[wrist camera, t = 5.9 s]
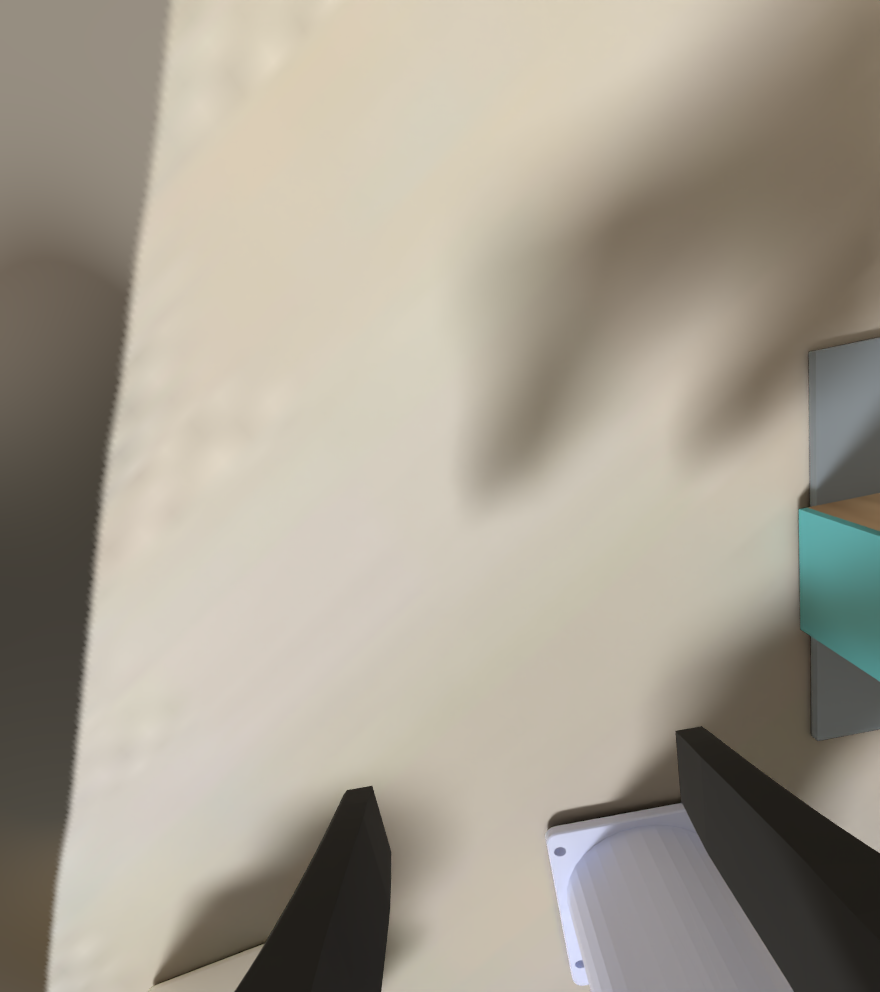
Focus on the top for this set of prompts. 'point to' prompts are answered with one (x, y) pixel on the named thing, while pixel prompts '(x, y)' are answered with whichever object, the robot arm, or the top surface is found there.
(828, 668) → the slate mat
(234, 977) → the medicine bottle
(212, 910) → the top surface
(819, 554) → the oak block
